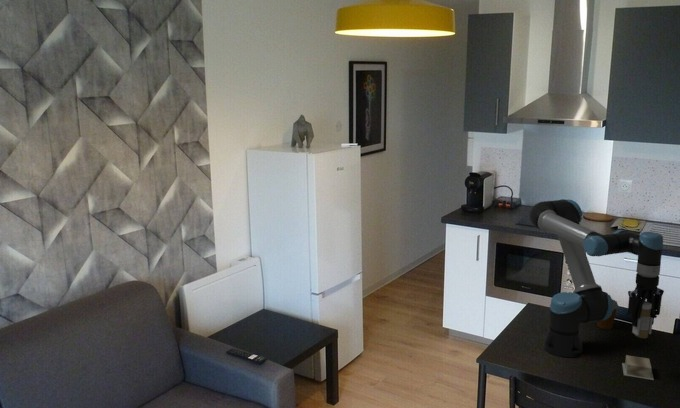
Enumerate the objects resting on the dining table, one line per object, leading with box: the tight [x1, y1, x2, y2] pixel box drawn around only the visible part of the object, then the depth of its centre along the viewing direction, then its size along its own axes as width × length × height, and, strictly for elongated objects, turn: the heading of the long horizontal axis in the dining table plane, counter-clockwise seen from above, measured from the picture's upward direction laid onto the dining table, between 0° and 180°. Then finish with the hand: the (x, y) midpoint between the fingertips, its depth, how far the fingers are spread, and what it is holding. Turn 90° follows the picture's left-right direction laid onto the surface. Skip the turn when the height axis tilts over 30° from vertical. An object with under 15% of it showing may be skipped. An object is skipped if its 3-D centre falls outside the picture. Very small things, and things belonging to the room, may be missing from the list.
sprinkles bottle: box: [634, 300, 652, 339], centre depth 213 cm, size 5×5×13 cm
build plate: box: [621, 362, 655, 381], centre depth 218 cm, size 10×10×1 cm
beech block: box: [624, 354, 652, 378], centre depth 217 cm, size 8×8×4 cm
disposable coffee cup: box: [596, 298, 619, 330], centre depth 257 cm, size 10×10×12 cm
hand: (641, 333), depth 214 cm, fingers closed on sprinkles bottle, 4 cm apart
